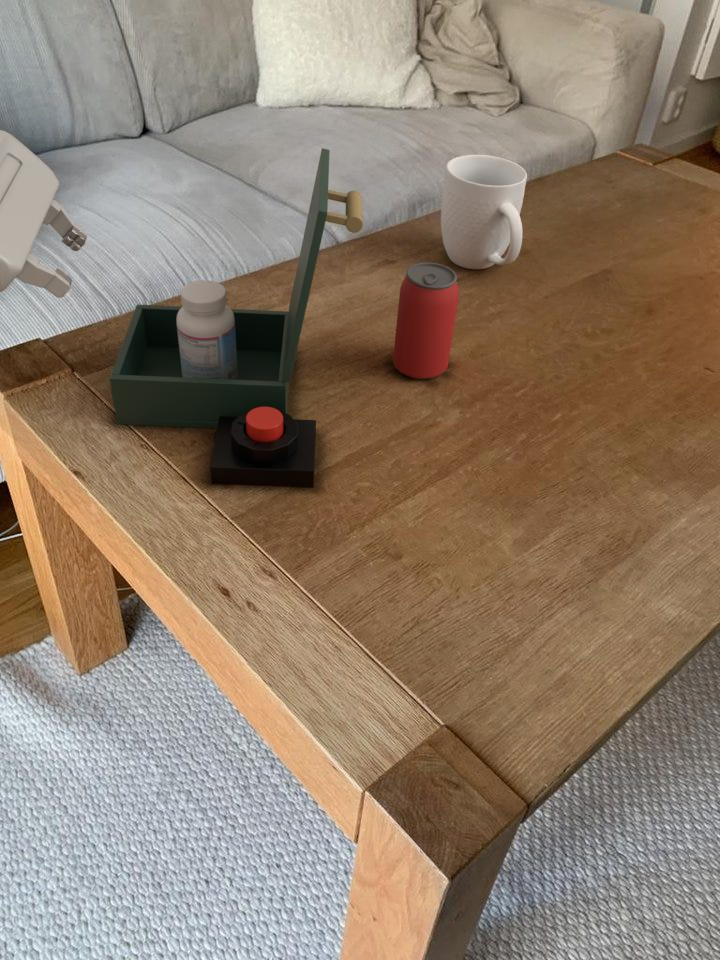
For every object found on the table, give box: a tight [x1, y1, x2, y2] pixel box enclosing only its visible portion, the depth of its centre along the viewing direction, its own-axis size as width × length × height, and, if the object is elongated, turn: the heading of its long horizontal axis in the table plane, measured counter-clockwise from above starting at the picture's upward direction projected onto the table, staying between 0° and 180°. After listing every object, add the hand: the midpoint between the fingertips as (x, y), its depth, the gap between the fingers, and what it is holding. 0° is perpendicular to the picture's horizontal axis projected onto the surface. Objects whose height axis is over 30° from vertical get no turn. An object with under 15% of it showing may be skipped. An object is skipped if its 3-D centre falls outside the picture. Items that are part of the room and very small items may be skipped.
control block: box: [209, 410, 317, 488], centre depth 82 cm, size 10×8×4 cm
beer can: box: [392, 261, 460, 380], centre depth 93 cm, size 7×7×12 cm
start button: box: [246, 407, 283, 442], centre depth 80 cm, size 4×4×2 cm
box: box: [109, 304, 291, 429], centre depth 90 cm, size 18×15×6 cm
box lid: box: [282, 147, 364, 384], centre depth 82 cm, size 18×15×5 cm
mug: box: [440, 154, 528, 270], centre depth 113 cm, size 15×11×13 cm
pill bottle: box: [176, 279, 238, 380], centre depth 87 cm, size 6×6×11 cm
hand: (75, 266), depth 80 cm, fingers open, 8 cm apart
